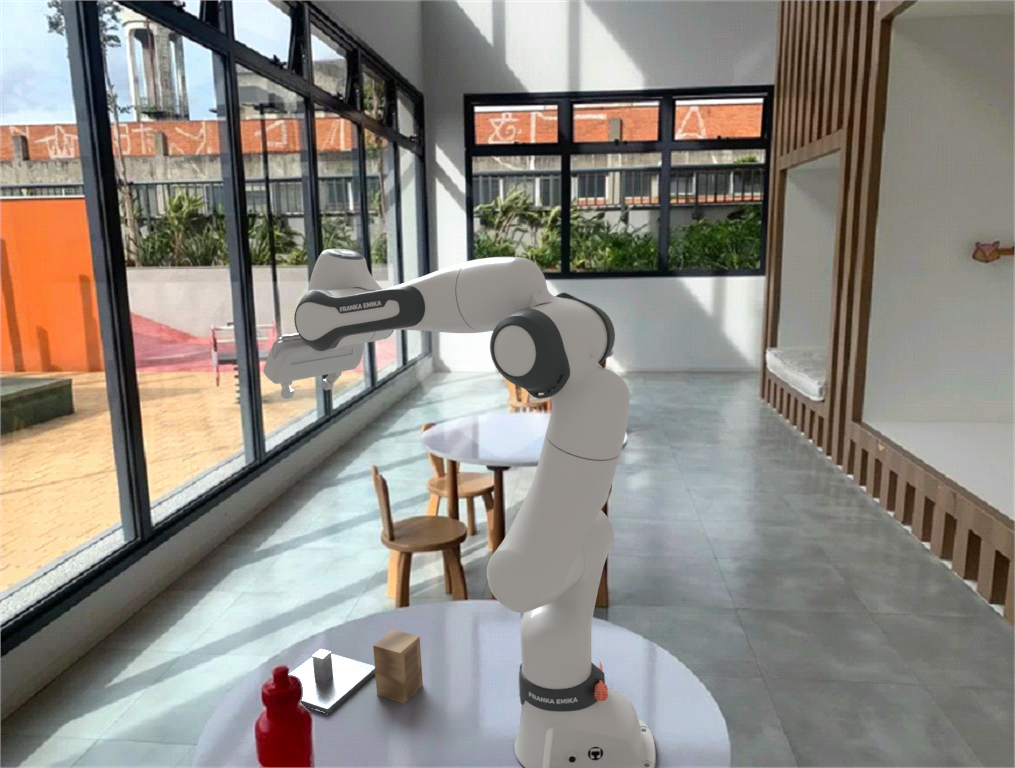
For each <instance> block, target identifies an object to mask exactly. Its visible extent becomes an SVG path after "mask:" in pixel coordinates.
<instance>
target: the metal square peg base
mask: <svg viewBox="0 0 1015 768" xmlns="http://www.w3.org/2000/svg"><path fill="white" fill-rule="evenodd" d="M289 674H290V675H293V676H296V677H298V678H299V679H300V681H301V683H302V687H303V697H302V700H301V703H302V704H303V705H304V706H306V707H307V708H306V707H305V708H306V709H309V708H313V709H318V710H320V711H323V712H325V713H326V714H329V713H330V714H331V713H332V712H334V711H335V710H336V709H337V708H338V707H339V706H341V705H342V704H343V703H344V702H345V701H346V700H347V699H348V698H350V697H351V696H353V694H354V693H355V692H357V690H359V689H360V688H361V687H362V686H364V684H366V683H367V682H368V681H369V680H371V678H372V677H374V676H376V675H375V665H372V664H368V663H365V662H362V661H360V660H355V659H352V658H347V657H346V656H345V657H344V656H342V655H339V654H336V653H335V654H334V653H332V651H329V650H326V649H322V648H320V649H319V650H318V651H316V652H315V653H314V654H312V656H311V657H310V658H308V659H307V660H306V661H304V662H303V663H302V664H300V666H297V668H295V669H293V671H291V672H290V673H289ZM337 706H338V707H337ZM308 707H309V708H308ZM336 707H337V708H336ZM335 708H336V709H335ZM334 709H335V710H334ZM333 710H334V711H333ZM331 711H332V712H331ZM326 714H325V715H326ZM330 714H329V715H330Z"/></svg>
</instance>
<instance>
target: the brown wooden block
mask: <svg viewBox="0 0 1015 768" xmlns="http://www.w3.org/2000/svg"><path fill="white" fill-rule="evenodd" d="M372 648H373V658H374V660H373V662H374V666H375V675H374V676H375V685H376V696H378V697H382V698H385V699H388V700H391V701H395V702H398V703H401V704H405V703H406V702H407V701H408V700H409V699H410V698H411V697H413V696H414V694H416V693H417V692H418V691H419V689H420V688H422V687H423V685H424V683H423V682H424V681H423V671H422V670H423V668H422V665H423V664H422V658H421V657H422V653H421V639H420V635H416V634H412V633H408V632H404V631H400V630H396V629H391V630H390V631H389V632H388V633H387V634H386V635H384V636H383V637H381V639H379V640H378V641H377V642H376V643H374V644H373V645H372Z"/></svg>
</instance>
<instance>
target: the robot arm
mask: <svg viewBox="0 0 1015 768" xmlns="http://www.w3.org/2000/svg"><path fill="white" fill-rule="evenodd" d="M293 321H294V327H295V329H296V331H297V333H292V334H283V335H281V336H280V337H279V338H278V339H276V340H274V342H273V343H272V346H271V348H270V351H269V353H268V356H267V358H266V360H265V364H264V367H263V373H264V375H265V377H266V378H267V379H268V380H269V381H271V382H272V383H273V384H275V385H279V384H280V386H281V392H280V396H281V397H282V398H283V399H284V400H288V399H292V398H293V397H294V394H295V390H294V389H293V388H291V385H293V382H295V381H300V380H304V379H310V378H314V377H320V376H325V375H327V376H326V377H325V378H322V380H321V382H322V383H321V385H320V386H321V388H322V389H324V391H329V390H333V388H334V384H335V383H336V381H337V380H338V379H339V378H340V377H341V375H342V372H345V371H352V370H355V369H356V368H357V367H358V366H359V365H360V363H361V361H362V358H363V354H364V350H365V344H366V343H372V342H378V341H381V340H386V339H388V338H389V337H391V335H393V333H394V331H397V330H398V331H418V332H419V331H420V332H421V331H422V332H432V333H433V332H435V333H436V332H437V333H448V334H450V333H451V334H479V333H486V332H488V333H489V332H492V334H491V336H490V342H489V351H490V355H491V360H492V363H493V364H494V366H495V368H496V370H497V372H499V374H501V376H502V377H503V378H505V379H506V380H507V381H508V382H510V383H511V384H513V385H515V386H517V387H519V388H521V389H524V390H525V391H526V392H527V393H528V394H530V395H531V396H532V397H533V398H535V399H540V400H541V399H542V400H543V399H550V402H551V411H550V416H549V420H548V423H547V428H546V430H545V435H544V440H543V442H542V443H543V444H542V446H541V447H542V448H541V451H540V454H539V455H540V456H539V459H538V463H537V465H536V466H537V467H536V472H535V474H534V478H533V479H532V483H531V485H530V488H529V490H528V492H527V493H526V496H525V497H524V500H523V502H522V504H521V506H520V508H519V509H518V512H517V514H516V516H515V518H514V520H513V522H512V524H511V526H510V528H509V530H508V532H507V534H506V535H505V537H504V538H503V540H502V541H501V543H500V544H499V546H498V547H497V549H496V550H495V551H494V552H493V553H492V555H491V556H490V558H489V559H488V563H487V566H486V579H487V584H488V586H489V589H490V590H491V593H492V595H493V596H494V598H495V599H496V600H497V601H498V602H499V604H501V605H502V606H503V607H504V608H506V609H508V610H509V611H512V612H515V613H519V614H520V613H524V614H523V617H522V620H521V621H520V629H519V630H520V657H521V658H520V659H521V663H520V665H519V671H518V696H519V699H520V700H519V701H520V704H521V710H520V719H519V723H518V730H517V734H516V737H515V740H514V753H515V756H516V758H517V760H518V761H519V763H520V764H521V765H522V766H523V767H524V768H656V763H657V756H656V755H657V754H656V753H657V751H656V745H655V740H654V737H653V733H652V731H651V729H650V728H649V726H648V725H647V724H646V722H644V721H643V720H642V719H640V718H639V716H638V714H637V711H636V708H635V706H634V705H633V703H632V702H631V700H630V699H628V698H627V697H625V696H624V695H622V694H620V692H617V691H616V690H614V689H613V688H611V687H610V686H608V685H606V677H605V672H604V671H603V668H604V667H603V664H602V662H601V661H599V663H598V664H599V665H598V666H599V667H598V666H597V665H595V664H594V663H593V662H592V630H593V629H592V628H593V627H592V625H593V618H594V611H595V606H596V604H597V603H596V602H597V597H598V592H599V587H600V583H601V579H602V574H603V570H604V566H605V563H606V560H607V558H608V555H609V553H610V551H611V549H612V547H613V544H614V541H615V540H614V539H615V532H614V527H613V525H612V522H611V520H610V519H609V517H608V515H606V514H605V512H604V511H603V510H602V509H603V507H604V506H605V504H606V503H607V501H608V498H609V495H610V491H611V487H612V484H613V481H614V478H615V474H616V471H617V466H618V463H619V460H620V457H621V455H622V454H621V453H622V449H623V446H624V442H625V438H626V432H627V428H628V427H627V426H628V421H629V420H628V419H629V411H630V396H631V395H630V390H629V386H628V385H627V383H626V381H625V380H624V379H623V378H622V377H621V376H619V374H617V373H615V372H614V371H612V370H610V369H607V368H604V367H603V366H602V365H601V364H602V363H603V362H605V360H607V358H608V357H609V356H610V354H611V352H612V350H613V348H614V345H615V342H616V340H615V339H616V334H615V333H616V331H615V328H614V326H615V325H614V324H613V322H612V320H611V317H610V316H609V315H608V314H607V313H606V311H604V310H603V309H601V308H600V307H599V306H596V305H595V304H592V303H590V302H588V301H585V300H582V299H579V298H578V297H575V296H574V295H571V294H570V293H567V292H559V294H557V295H553V294H552V293H551V292H550V291H549V290H548V285H547V281H546V278H545V275H544V273H543V271H542V270H541V268H540V266H538V265H537V264H536V263H535V262H534V261H532V260H531V259H529V258H527V257H521V256H519V257H518V256H494V257H493V256H492V257H486V258H485V257H484V258H477V259H472V260H466V261H462V262H459V263H456V264H453V265H449V266H447V267H444V268H441V269H439V270H435V271H433V272H430V273H428V274H425V275H422V276H421V277H417V278H414V279H411V280H408V281H405V282H403V283H400V284H396V285H394V286H390V287H388V288H382V287H381V286H380V285H379V284H378V282H377V281H376V279H375V278H374V277H373V275H372V274H371V273H370V271H369V269H368V264H367V260H366V258H365V256H364V255H363V254H361V253H359V252H357V251H355V250H350V249H345V248H328V249H325V250H322V252H321V253H320V255H319V256H318V257H317V259H316V262H315V264H314V267H313V270H312V273H311V277H310V280H309V284H308V289H307V292H306V293H305V294H303V296H302V298H301V299H300V300H299V303H297V306H296V308H295V313H294V320H293Z"/></svg>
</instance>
